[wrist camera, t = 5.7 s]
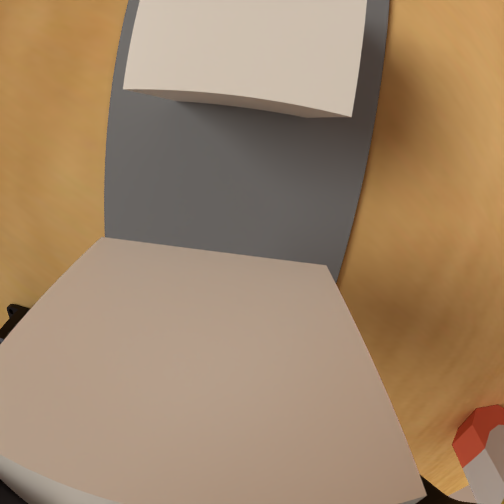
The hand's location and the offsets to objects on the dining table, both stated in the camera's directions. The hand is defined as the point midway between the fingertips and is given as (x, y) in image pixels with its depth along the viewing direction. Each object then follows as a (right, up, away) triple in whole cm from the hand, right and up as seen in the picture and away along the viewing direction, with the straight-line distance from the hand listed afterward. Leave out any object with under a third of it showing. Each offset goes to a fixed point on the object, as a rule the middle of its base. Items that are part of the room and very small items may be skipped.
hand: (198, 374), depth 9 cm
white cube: (0, +1, +1) cm, 2 cm away
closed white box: (+2, +14, +4) cm, 15 cm away
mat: (+1, +9, +7) cm, 11 cm away
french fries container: (+32, -18, +19) cm, 41 cm away
